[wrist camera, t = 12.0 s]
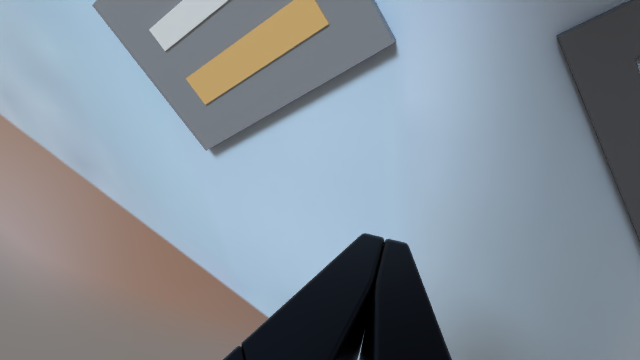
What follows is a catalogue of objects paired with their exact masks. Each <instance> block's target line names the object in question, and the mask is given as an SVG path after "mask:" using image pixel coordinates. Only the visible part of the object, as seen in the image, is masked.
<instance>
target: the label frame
mask: <svg viewBox="0 0 640 360" xmlns="http://www.w3.org/2000/svg"><path fill="white" fill-rule="evenodd" d="M557 38H558V40H559V43H560V45H561V48H562V50H563V53H564V55H565V58H566V60H567V62H568V65H569V67H570V70H571V72H572V75H573V77H574V80H575V82H576V85H577V87H578V90H579V92H580V95H581V97H582V100H583V102H584V105H585V107H586V109H587V112H588V114H589V117H590V119H591V122H592V124H593V127H594V129H595V132H596V134H597V137H598V139H599V142H600V144H601V147H602V149H603V152H604V154H605V157H606V159H607V161H608V164H609V166H610V169H611V171H612V174H613V176H614V179H615V181H616V184H617V186H618V189H619V191H620V194H621V196H622V199H623V201H624V204H625V206H626V208H627V211H628V213H629V216H630V218H631V221H632V223H633V226H634V228H635V231H636V233H637V236H638V238H639V241H640V72H639V69H638V66H637V64H636V61H635V58H636V57H638V56H640V0H630V1H628V2H626V3H624V4H621V5H619V6H617V7H615V8H613V9H611V10H609V11H607V12H605V13H603V14H601V15H599V16H596V17H594V18H592V19H590V20H588V21H586V22H584V23H582V24H580V25H578V26H576V27H573V28H571V29H569V30H567V31H565V32H563V33H561V34H559V35H557Z"/></svg>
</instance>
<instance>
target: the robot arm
mask: <svg viewBox="0 0 640 360" xmlns="http://www.w3.org/2000/svg"><path fill="white" fill-rule="evenodd" d="M363 336H364V337H363ZM362 340H363V342H362ZM361 344H362V347H361ZM360 348H361V352H360ZM359 352H360V359H359V360H452V359H451V357H450V354H449V351H448V349H447V346H446V343H445V341H444V338H443V335H442V333H441V330H440V328H439V325H438V322H437V320H436V317H435V314H434V312H433V309H432V306H431V304H430V301H429V298H428V296H427V293H426V291H425V288H424V285H423V283H422V280H421V277H420V275H419V272H418V269H417V267H416V264H415V262H414V259H413V256H412V254H411V251H410V248H409V246H408V245H407V244H406V243H404V242H400V241H396V240H392V239H386V240H385V242H384V239H383V238H382V237H379V236H375V235H371V234H366V233H364V234H362V235H360V236H359V237H358V238H357V239H356V240H355V241H354V242H353V243H352V244H350V245H349V246H348V247H347V248H346V249H345V250H344V251H343V252H342V253H340V254H339V255H338V256H337V257H336V258H335V259H334V260H333V261H332V262H331V263H329V264H328V265H327V266H326V267H325V268H324V269H323V270H322V271H321V272H320V273H318V274H317V275H316V276H315V277H314V278H313V279H312V280H311V281H310V282H308V283H307V284H306V285H305V286H304V287H303V288H302V289H301V290H300V291H299V292H297V293H296V294H295V295H294V296H293V297H292V298H291V299H290V300H289V301H288V302H286V303H285V304H284V305H283V306H282V307H281V308H280V309H279V310H278V311H276V312H275V313H274V314H273V315H272V316H271V317H270V318H269V319H268V320H267V321H265V322H264V323H263V324H262V325H261V326H260V327H259V328H258V329H257V330H256V331H255V332H253V333H252V334H251V335H250V336H249V337H248V338H247V339H246V340H245V341H243V342H242V347H240V346H238V347H236V348H235V349H234V350H233V351H232V352H231V353H230V354H229V355H228V356H227V357H226V358H224V359H223V360H357V358H358V355H359Z"/></svg>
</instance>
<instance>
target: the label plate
mask: <svg viewBox="0 0 640 360" xmlns="http://www.w3.org/2000/svg"><path fill="white" fill-rule="evenodd" d="M93 7H94V8H95V9H96V11H97V12H98V13H99V14H100V16H101V17H102V18H103V20H104V21H105V22H106V23H107V25H108V26H109V27H110V28H111V30H112V31H113V32H114V34H115V35H116V36H117V37H118V39H119V40H120V41H121V43H122V44H123V45H124V46H125V48H126V49H127V50H128V52H129V53H130V54H131V55H132V57H133V58H134V59H135V60H136V62H137V63H138V64H139V66H140V67H141V68H142V69H143V71H144V72H145V73H146V75H147V76H148V77H149V78H150V80H151V81H152V82H153V84H154V85H155V86H156V87H157V89H158V90H159V91H160V92H161V94H162V95H163V96H164V98H165V99H166V100H167V101H168V103H169V104H170V105H171V107H172V108H173V109H174V110H175V112H176V113H177V114H178V116H179V117H180V118H181V119H182V121H183V122H184V123H185V125H186V126H187V127H188V128H189V130H190V131H191V132H192V133H193V135H194V136H195V137H196V139H197V140H198V141H199V142H200V144H201V145H202V146H203V148H204V149H205V150H208V149H210V148H212V147H213V146H215V145H217V144H219V143H220V142H222V141H224V140H226V139H227V138H229V137H231V136H233V135H234V134H236V133H238V132H240V131H241V130H243V129H245V128H247V127H248V126H250V125H252V124H254V123H255V122H257V121H259V120H260V119H262V118H264V117H266V116H267V115H269V114H271V113H273V112H274V111H276V110H278V109H280V108H281V107H283V106H285V105H287V104H288V103H290V102H292V101H294V100H295V99H297V98H299V97H301V96H302V95H304V94H306V93H308V92H309V91H311V90H313V89H315V88H316V87H318V86H320V85H322V84H323V83H325V82H327V81H329V80H330V79H332V78H334V77H335V76H337V75H339V74H341V73H342V72H344V71H346V70H348V69H349V68H351V67H353V66H355V65H356V64H358V63H360V62H362V61H363V60H365V59H367V58H369V57H370V56H372V55H374V54H376V53H377V52H379V51H381V50H383V49H384V48H386V47H388V46H390V45H391V44H393V43H394V42H395V40H396V39H395V37H394V35H393V33H392V32H391V30H390V28H389V26H388V24H387V22H386V21H385V19H384V17H383V15H382V13H381V11H380V9H379V8H378V6H377V4H376V2H375V0H97V1H96V2H95V3H94V4H93Z"/></svg>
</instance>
